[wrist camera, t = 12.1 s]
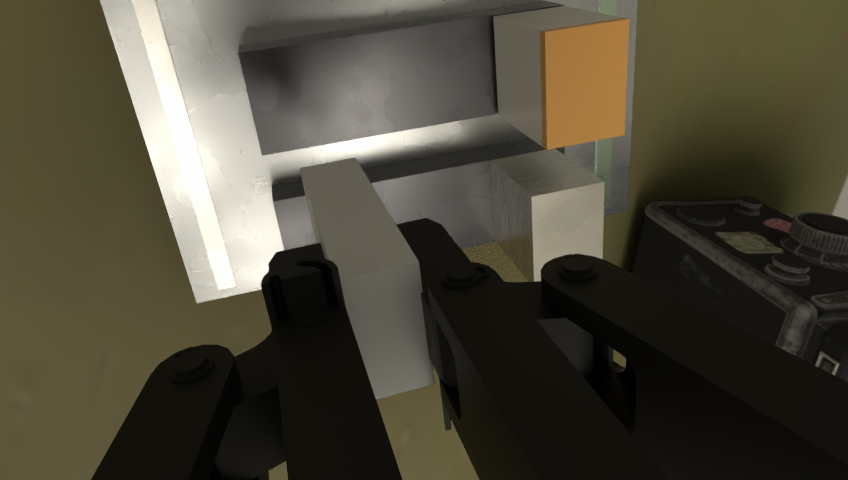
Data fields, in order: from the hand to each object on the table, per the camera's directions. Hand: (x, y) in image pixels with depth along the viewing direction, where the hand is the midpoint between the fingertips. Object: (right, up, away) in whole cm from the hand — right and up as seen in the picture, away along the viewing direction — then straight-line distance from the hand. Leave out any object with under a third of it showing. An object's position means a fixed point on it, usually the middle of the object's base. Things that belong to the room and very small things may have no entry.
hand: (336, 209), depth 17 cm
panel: (+1, +7, +11) cm, 14 cm away
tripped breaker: (+7, +6, +9) cm, 13 cm away
